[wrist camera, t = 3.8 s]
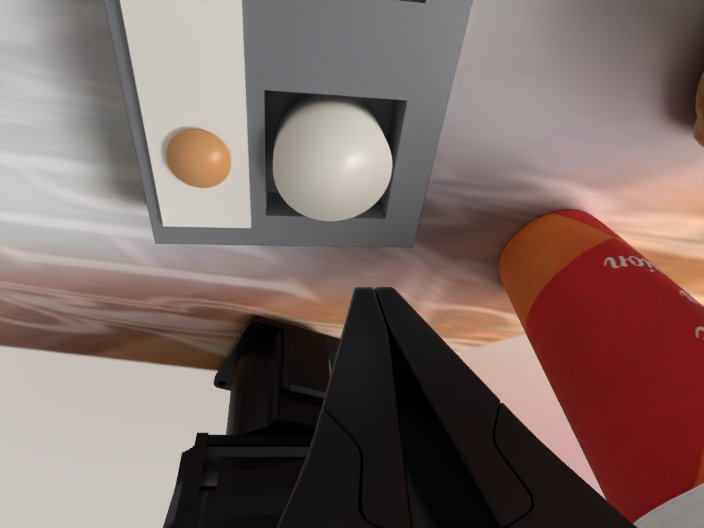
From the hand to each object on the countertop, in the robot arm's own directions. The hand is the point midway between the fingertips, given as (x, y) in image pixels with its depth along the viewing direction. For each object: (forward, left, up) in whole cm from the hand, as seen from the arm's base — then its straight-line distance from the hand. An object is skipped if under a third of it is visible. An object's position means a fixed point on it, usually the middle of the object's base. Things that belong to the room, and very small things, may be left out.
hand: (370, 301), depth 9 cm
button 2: (-1, 0, -10) cm, 10 cm away
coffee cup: (-1, -15, -11) cm, 19 cm away
